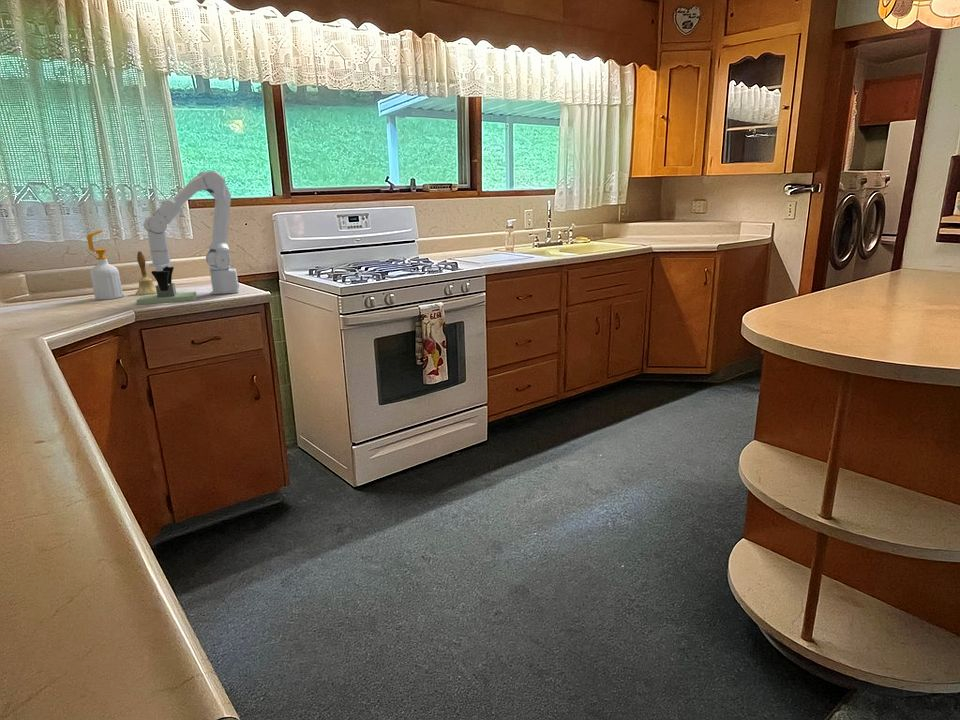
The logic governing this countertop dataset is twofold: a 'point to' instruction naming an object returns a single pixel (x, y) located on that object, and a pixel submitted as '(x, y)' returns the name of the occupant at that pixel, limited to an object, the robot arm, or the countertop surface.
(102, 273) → the soap bottle
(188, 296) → the post board
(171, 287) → the collar
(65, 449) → the countertop surface
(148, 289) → the hand bell
